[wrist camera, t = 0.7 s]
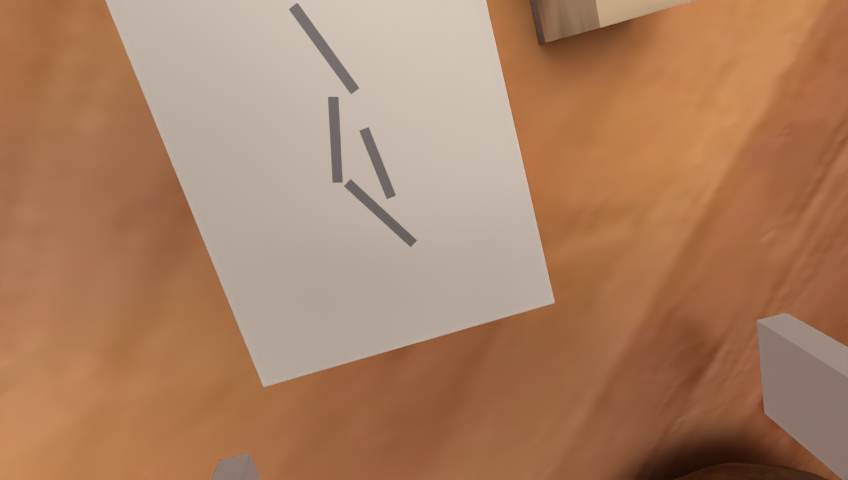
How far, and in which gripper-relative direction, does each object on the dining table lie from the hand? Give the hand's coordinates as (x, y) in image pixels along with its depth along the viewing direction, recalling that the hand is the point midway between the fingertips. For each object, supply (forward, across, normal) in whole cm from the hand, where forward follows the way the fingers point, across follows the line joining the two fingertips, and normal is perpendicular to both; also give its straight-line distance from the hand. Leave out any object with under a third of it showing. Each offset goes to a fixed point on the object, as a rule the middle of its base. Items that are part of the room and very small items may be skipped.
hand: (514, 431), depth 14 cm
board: (+23, -4, +8) cm, 25 cm away
